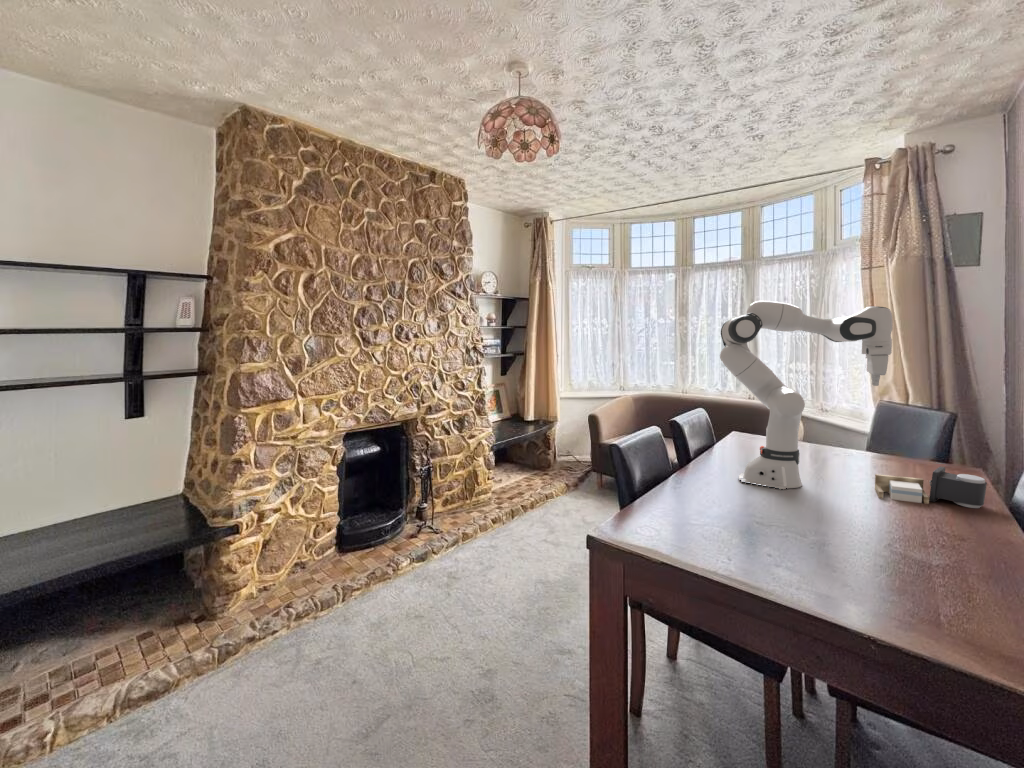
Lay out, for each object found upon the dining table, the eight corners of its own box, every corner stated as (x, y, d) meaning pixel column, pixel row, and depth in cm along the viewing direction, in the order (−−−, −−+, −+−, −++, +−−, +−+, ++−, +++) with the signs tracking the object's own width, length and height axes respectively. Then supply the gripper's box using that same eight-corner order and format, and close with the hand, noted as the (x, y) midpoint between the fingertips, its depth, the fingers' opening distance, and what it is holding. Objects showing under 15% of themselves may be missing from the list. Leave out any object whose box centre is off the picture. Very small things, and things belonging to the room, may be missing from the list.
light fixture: (979, 513, 146) (984, 481, 144) (925, 501, 156) (929, 471, 155) (986, 505, 152) (990, 475, 151) (934, 494, 163) (937, 465, 161)
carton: (891, 499, 160) (891, 486, 159) (888, 493, 166) (889, 479, 166) (921, 503, 155) (922, 489, 155) (917, 496, 162) (918, 483, 161)
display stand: (878, 498, 161) (879, 481, 160) (874, 489, 170) (875, 474, 169) (928, 504, 154) (929, 487, 153) (921, 494, 163) (922, 478, 162)
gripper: (862, 348, 181) (861, 382, 182) (869, 350, 163) (868, 388, 165) (882, 348, 177) (881, 383, 178) (891, 350, 160) (890, 388, 161)
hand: (875, 385), depth 171 cm, fingers closed
